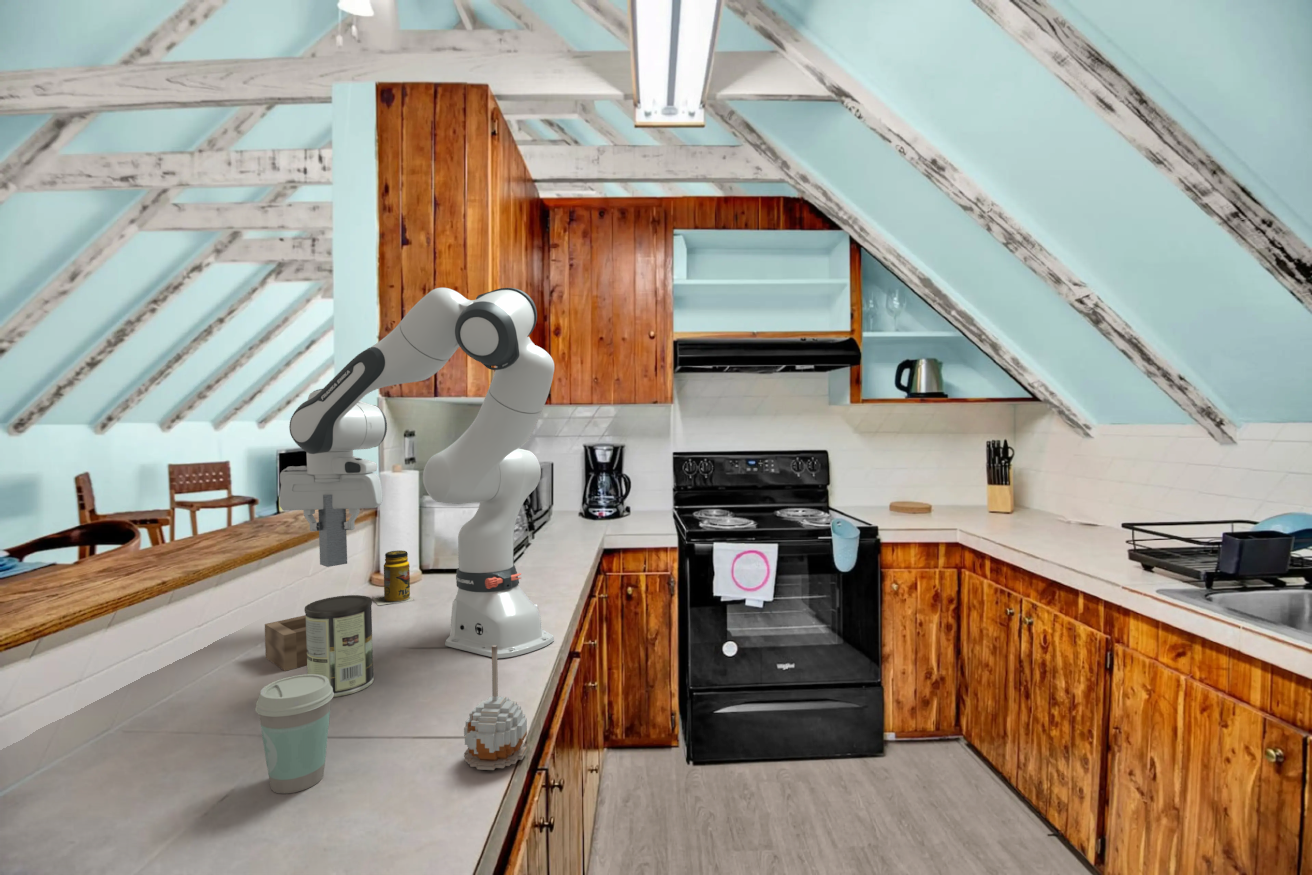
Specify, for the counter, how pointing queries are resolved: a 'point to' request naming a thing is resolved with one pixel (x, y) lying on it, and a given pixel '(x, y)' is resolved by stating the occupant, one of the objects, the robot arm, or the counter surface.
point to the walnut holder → (287, 643)
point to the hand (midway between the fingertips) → (332, 530)
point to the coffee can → (341, 642)
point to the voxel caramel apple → (495, 729)
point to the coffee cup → (295, 730)
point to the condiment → (395, 579)
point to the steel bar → (332, 534)
